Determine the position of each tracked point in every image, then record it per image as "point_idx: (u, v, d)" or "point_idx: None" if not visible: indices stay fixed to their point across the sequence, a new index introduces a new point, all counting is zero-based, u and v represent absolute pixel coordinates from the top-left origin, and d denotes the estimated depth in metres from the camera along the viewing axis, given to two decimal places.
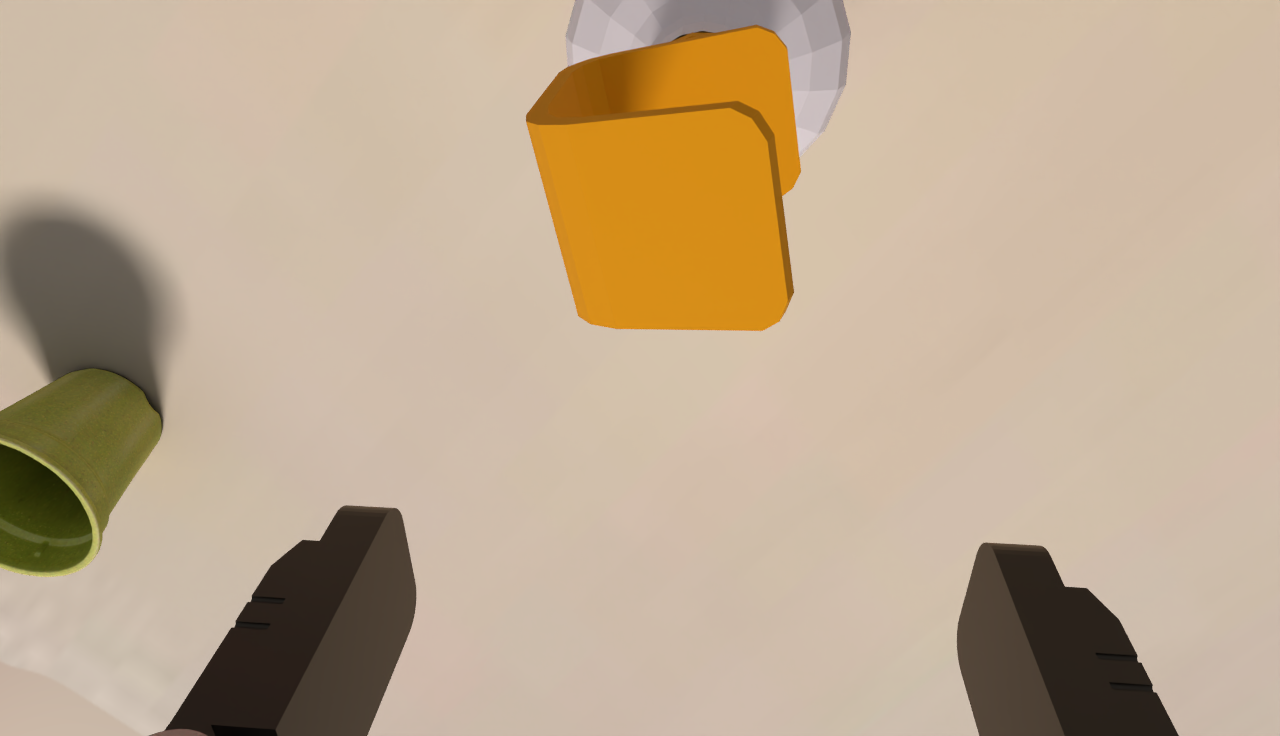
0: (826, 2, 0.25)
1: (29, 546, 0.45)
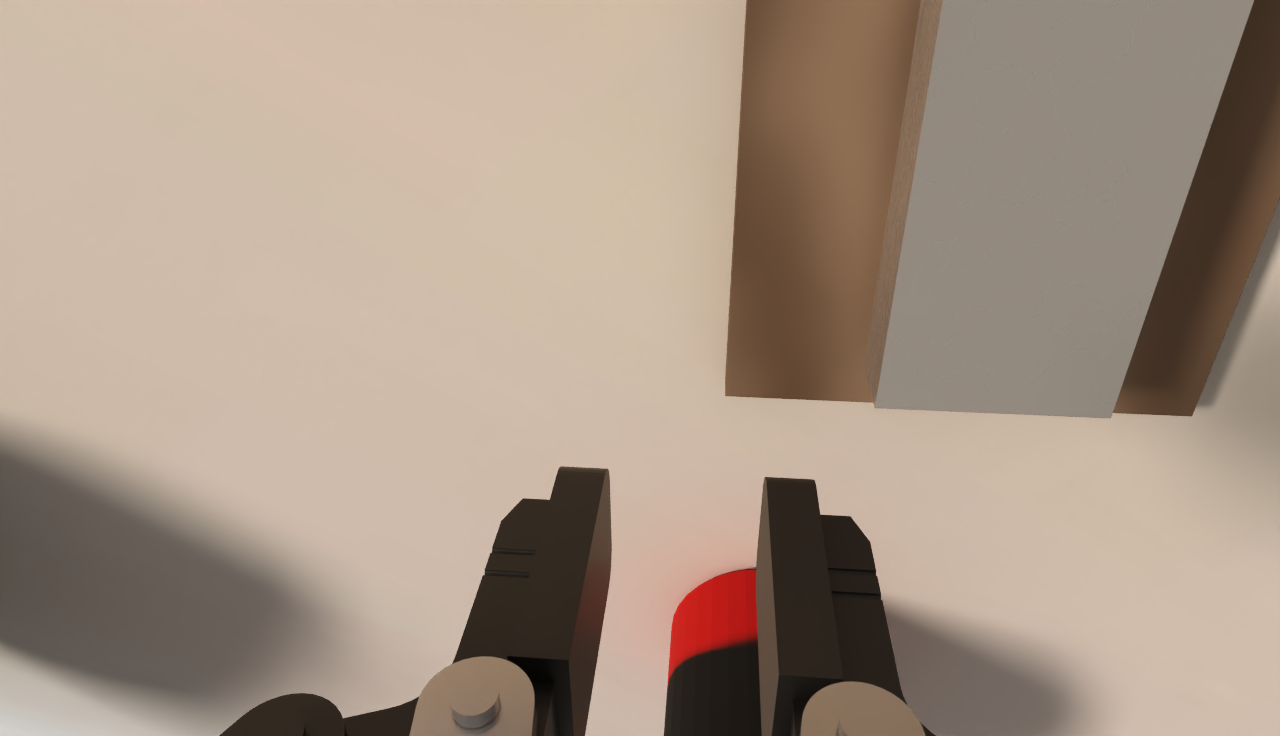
0: None
1: None
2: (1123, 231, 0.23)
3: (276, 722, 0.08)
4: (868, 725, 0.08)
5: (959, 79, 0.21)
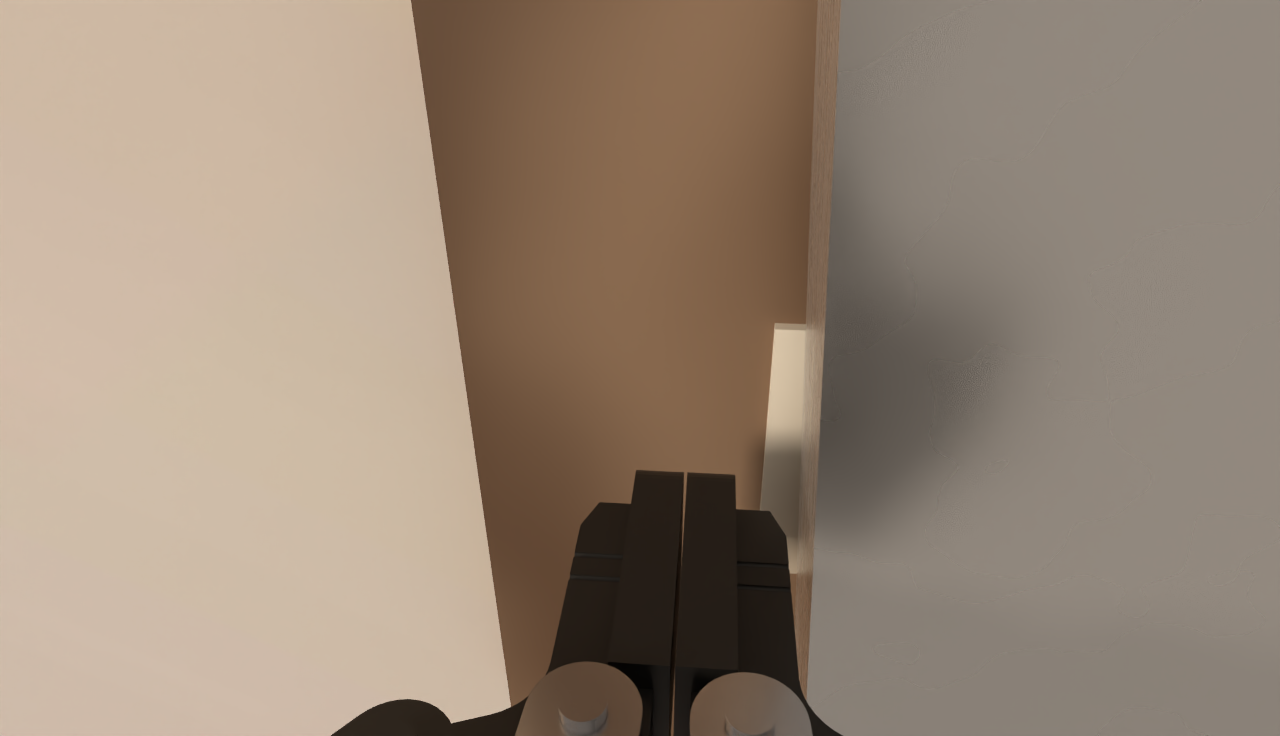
0: None
1: None
2: (1267, 632, 0.11)
3: (390, 727, 0.08)
4: (753, 714, 0.08)
5: (888, 377, 0.09)
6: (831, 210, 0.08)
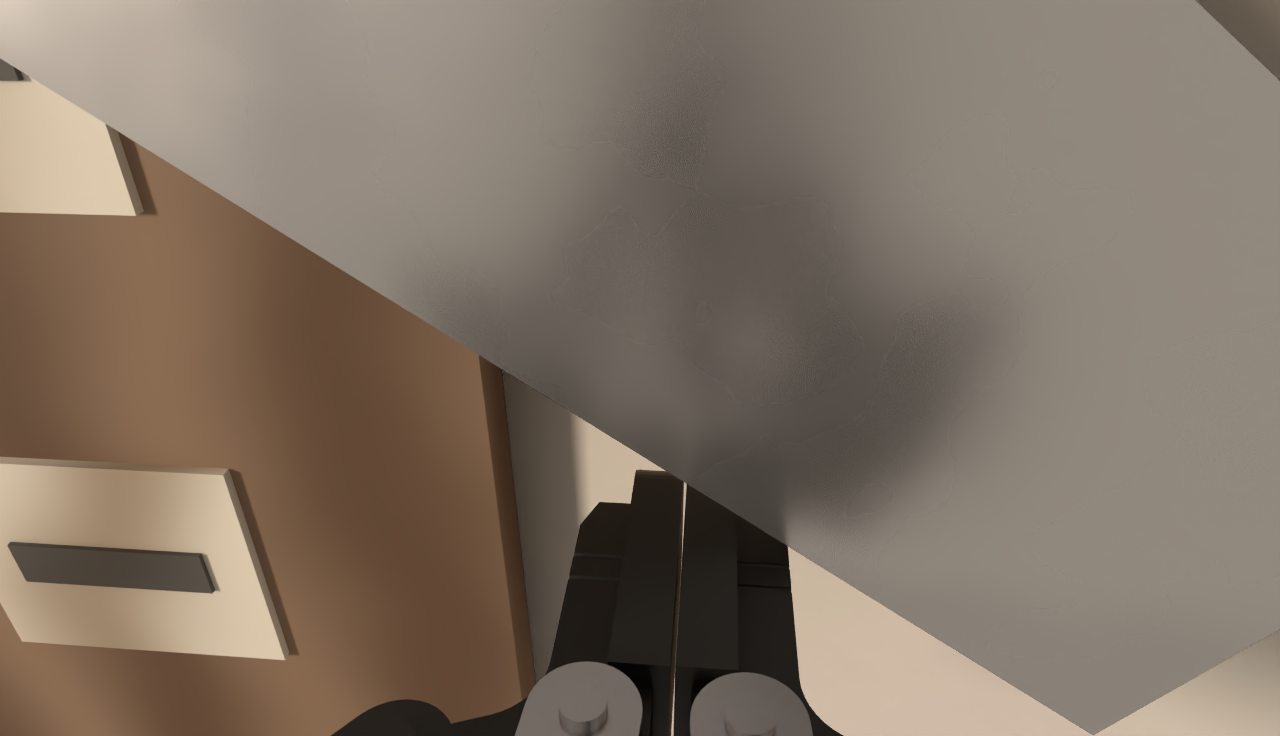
0: None
1: None
2: (1150, 192, 0.08)
3: (389, 726, 0.08)
4: (754, 714, 0.08)
5: (545, 333, 0.10)
6: (365, 283, 0.09)
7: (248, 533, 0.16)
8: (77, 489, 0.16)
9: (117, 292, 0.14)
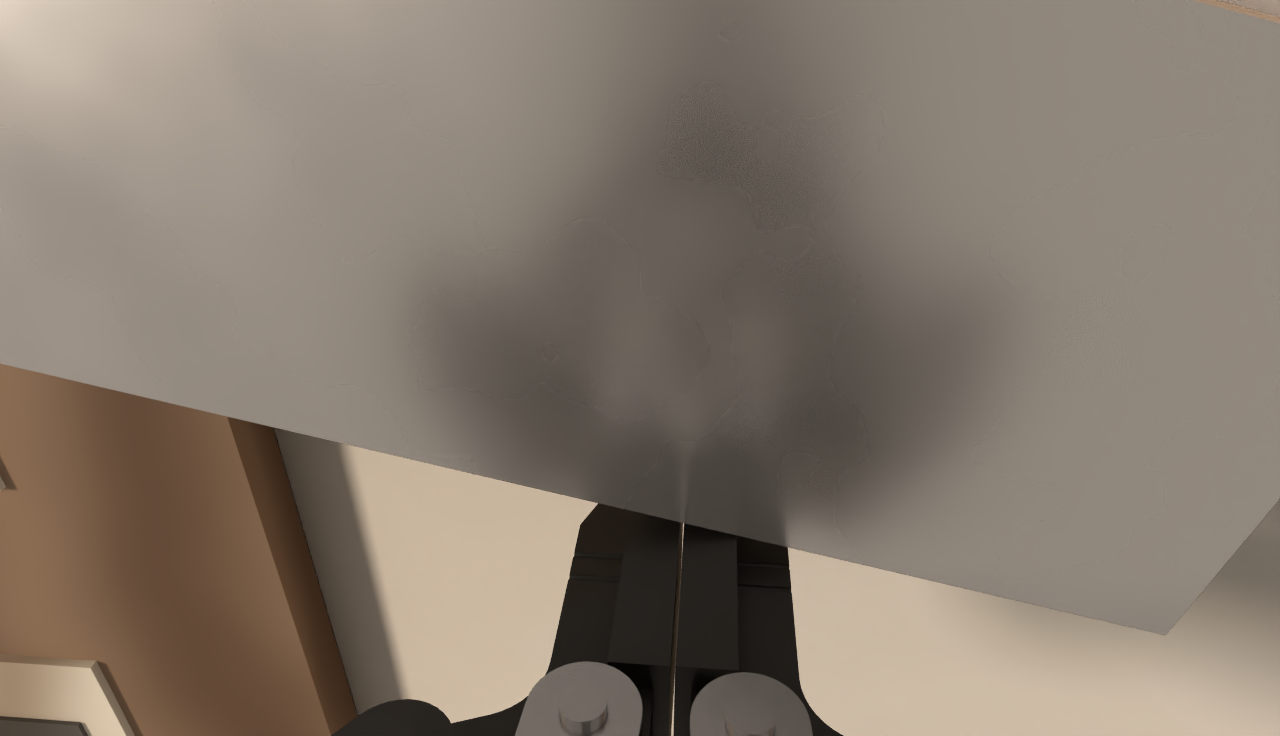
0: None
1: None
2: (890, 89, 0.08)
3: (389, 727, 0.08)
4: (754, 714, 0.08)
5: (431, 418, 0.10)
6: (274, 426, 0.11)
7: (117, 707, 0.20)
8: None
9: None
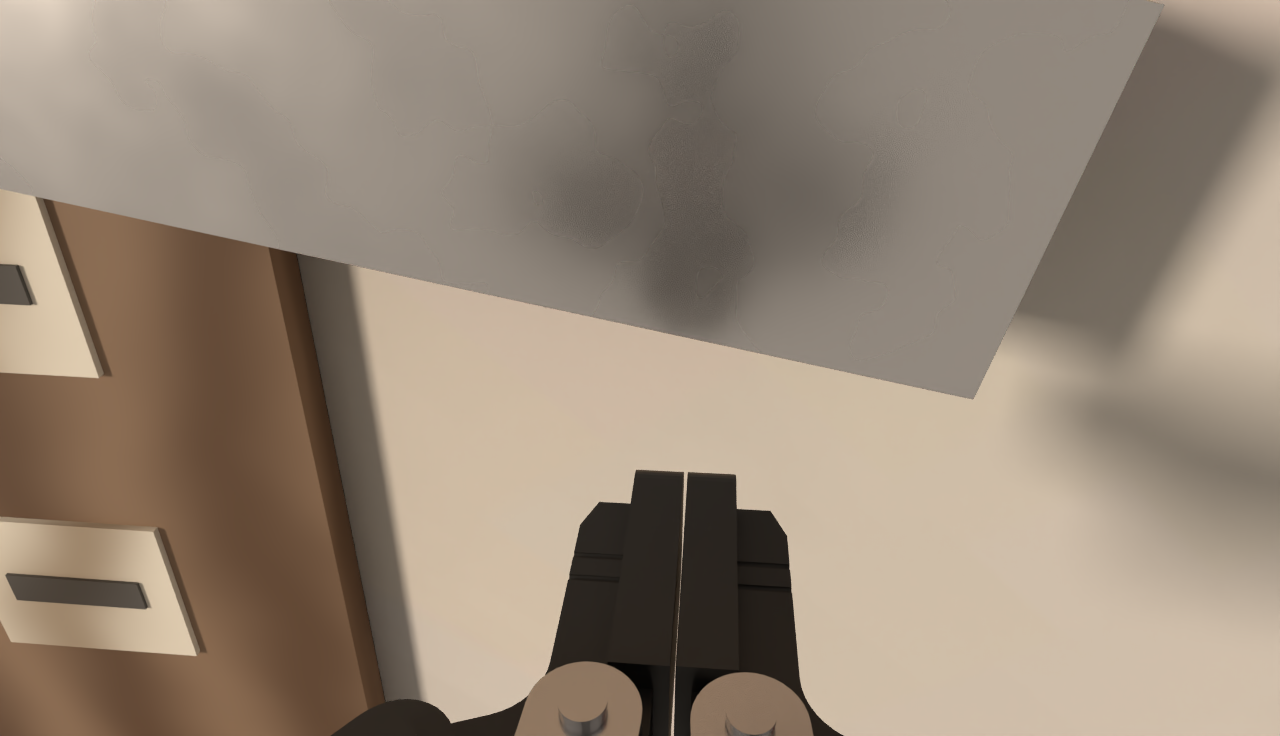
0: None
1: None
2: (741, 7, 0.13)
3: (389, 727, 0.08)
4: (754, 714, 0.08)
5: (459, 252, 0.15)
6: (351, 264, 0.15)
7: (170, 569, 0.24)
8: (55, 539, 0.24)
9: (86, 418, 0.22)
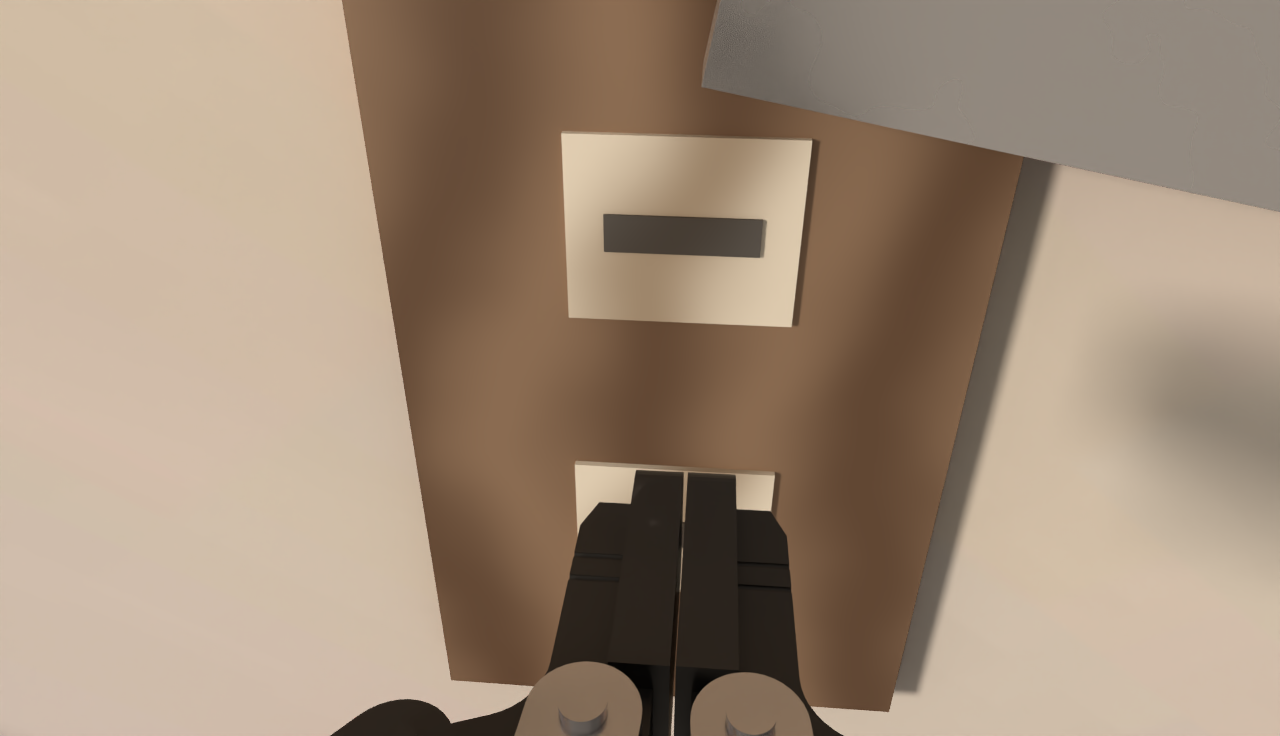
0: None
1: None
2: None
3: (389, 727, 0.08)
4: (754, 714, 0.08)
5: None
6: (1253, 205, 0.17)
7: (771, 512, 0.26)
8: None
9: (752, 367, 0.24)
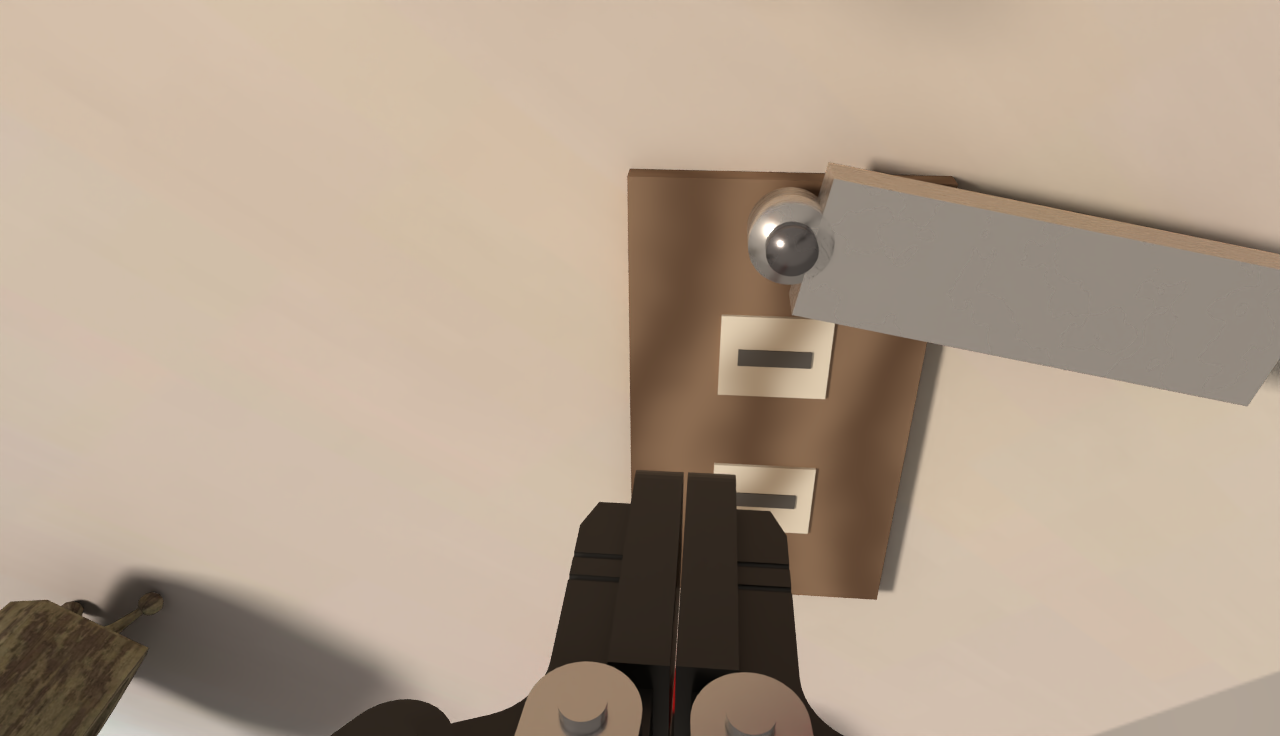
0: None
1: None
2: (1189, 280, 0.39)
3: (389, 727, 0.08)
4: (754, 714, 0.08)
5: (1060, 355, 0.41)
6: (1015, 359, 0.42)
7: (813, 488, 0.51)
8: (763, 474, 0.51)
9: (805, 417, 0.48)
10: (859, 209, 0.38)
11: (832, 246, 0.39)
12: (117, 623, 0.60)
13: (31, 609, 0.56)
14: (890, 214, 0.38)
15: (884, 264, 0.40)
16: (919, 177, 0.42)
